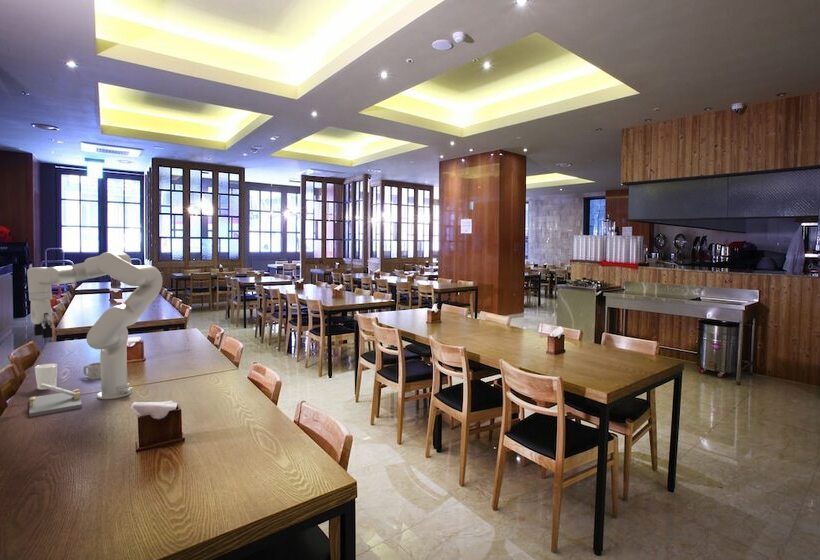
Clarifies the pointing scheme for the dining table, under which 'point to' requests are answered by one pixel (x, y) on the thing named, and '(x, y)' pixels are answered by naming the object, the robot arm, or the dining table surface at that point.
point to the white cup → (46, 375)
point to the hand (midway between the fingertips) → (43, 336)
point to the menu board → (54, 403)
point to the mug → (93, 371)
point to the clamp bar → (57, 389)
